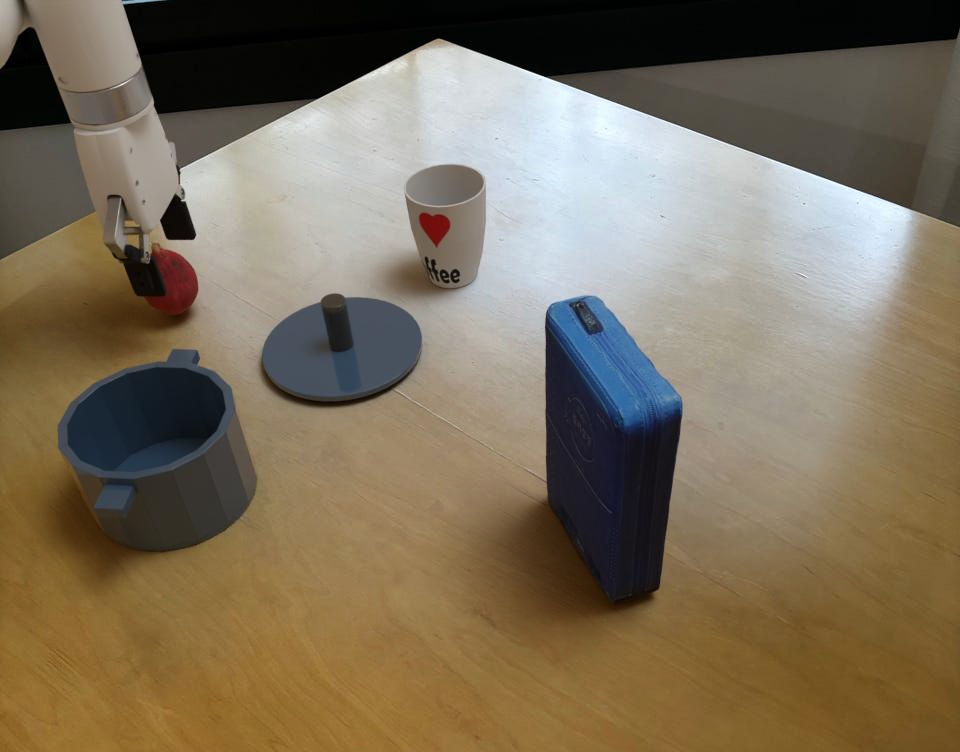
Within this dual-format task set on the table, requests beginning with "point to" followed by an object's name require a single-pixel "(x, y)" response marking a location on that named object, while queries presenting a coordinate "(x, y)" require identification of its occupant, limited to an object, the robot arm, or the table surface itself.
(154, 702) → the table surface
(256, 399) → the table surface
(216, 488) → the pot
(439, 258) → the cup
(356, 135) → the table surface
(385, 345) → the lid
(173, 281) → the red pomegranate
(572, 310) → the blue case
